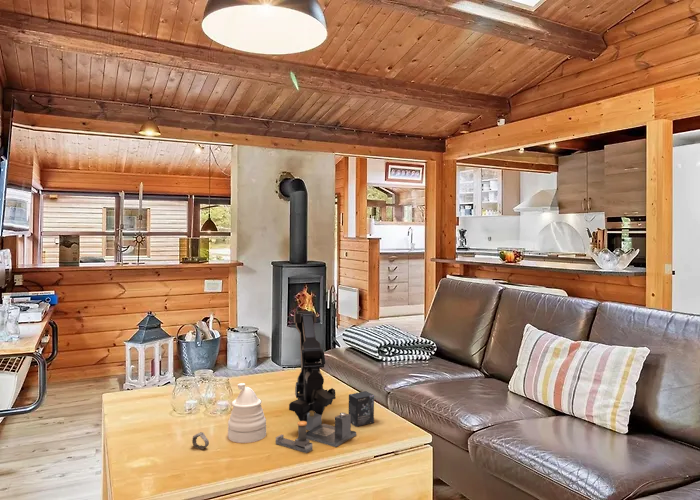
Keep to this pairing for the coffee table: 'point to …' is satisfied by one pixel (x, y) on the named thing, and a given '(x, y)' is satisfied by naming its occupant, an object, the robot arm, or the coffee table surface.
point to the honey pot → (246, 417)
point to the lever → (301, 434)
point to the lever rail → (292, 444)
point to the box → (361, 408)
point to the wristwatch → (202, 438)
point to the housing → (313, 420)
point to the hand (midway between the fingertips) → (311, 424)
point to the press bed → (333, 431)
